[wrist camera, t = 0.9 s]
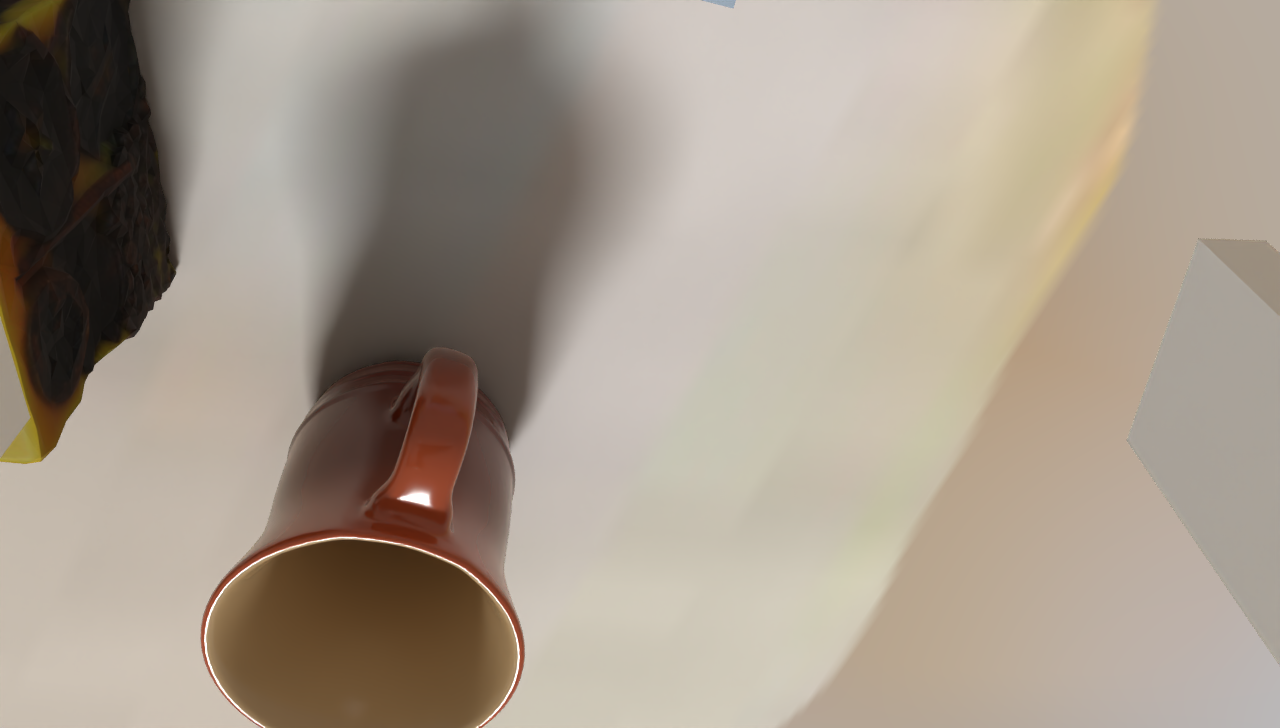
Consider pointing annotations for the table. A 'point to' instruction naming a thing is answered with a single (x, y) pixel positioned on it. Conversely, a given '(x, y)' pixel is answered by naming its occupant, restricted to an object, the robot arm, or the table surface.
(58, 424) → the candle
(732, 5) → the lid
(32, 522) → the table surface
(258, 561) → the mug
